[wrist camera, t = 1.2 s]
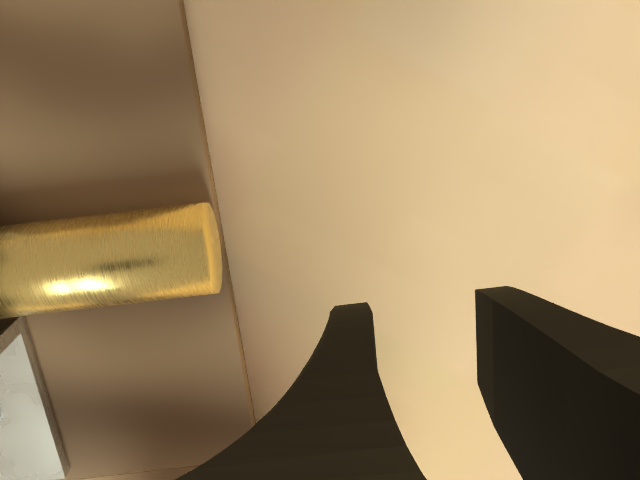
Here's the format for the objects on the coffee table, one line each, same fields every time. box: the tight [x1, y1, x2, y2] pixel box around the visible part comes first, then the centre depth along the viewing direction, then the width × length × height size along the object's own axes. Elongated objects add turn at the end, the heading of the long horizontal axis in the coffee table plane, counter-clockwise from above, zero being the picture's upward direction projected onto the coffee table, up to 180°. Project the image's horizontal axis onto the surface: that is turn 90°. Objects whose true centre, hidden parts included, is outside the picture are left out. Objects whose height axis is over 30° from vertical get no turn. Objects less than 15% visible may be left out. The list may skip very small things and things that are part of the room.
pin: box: [0, 202, 222, 319], centre depth 18 cm, size 10×3×3 cm, turn 96°
